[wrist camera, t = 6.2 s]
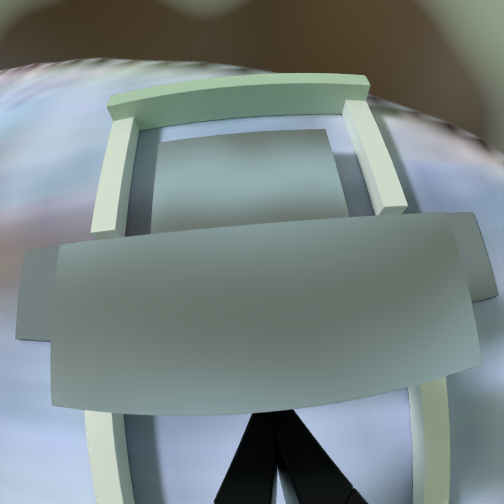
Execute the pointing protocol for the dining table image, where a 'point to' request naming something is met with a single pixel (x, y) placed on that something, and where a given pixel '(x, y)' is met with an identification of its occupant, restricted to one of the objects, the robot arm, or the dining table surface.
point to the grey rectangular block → (257, 291)
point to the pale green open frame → (237, 106)
